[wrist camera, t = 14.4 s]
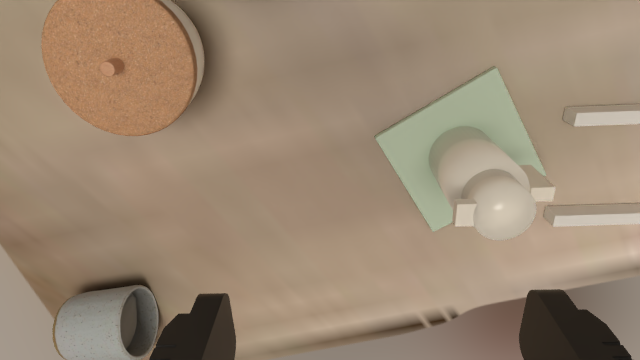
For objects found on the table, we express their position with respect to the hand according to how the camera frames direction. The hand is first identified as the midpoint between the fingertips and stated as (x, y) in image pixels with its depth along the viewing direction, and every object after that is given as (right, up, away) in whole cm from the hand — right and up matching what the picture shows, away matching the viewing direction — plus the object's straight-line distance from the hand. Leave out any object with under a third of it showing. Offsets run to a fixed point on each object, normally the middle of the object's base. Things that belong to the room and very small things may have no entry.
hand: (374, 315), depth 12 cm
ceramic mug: (-24, -11, +38) cm, 46 cm away
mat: (+12, +6, +29) cm, 32 cm away
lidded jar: (-16, +15, +26) cm, 34 cm away
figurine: (+12, +6, +29) cm, 32 cm away
